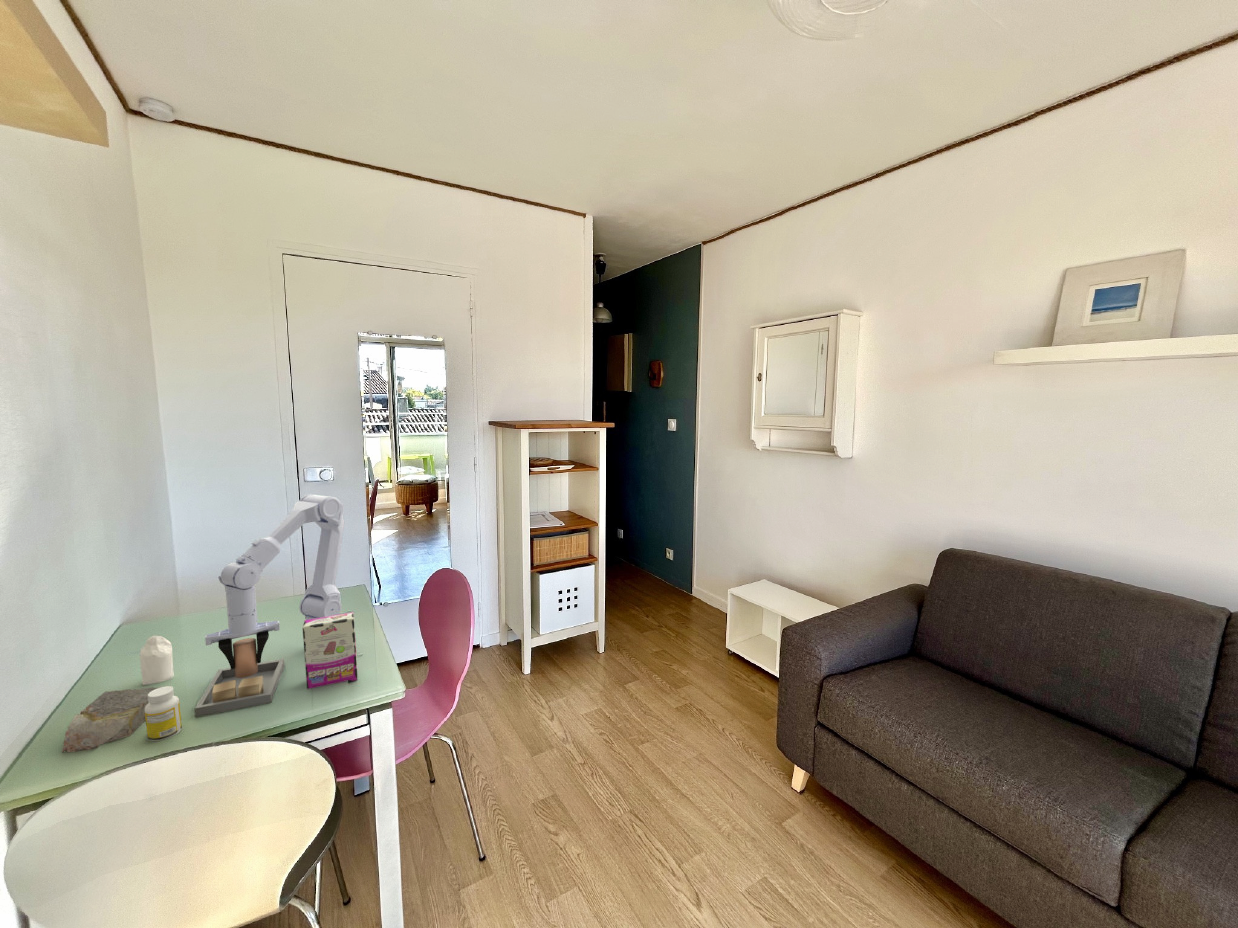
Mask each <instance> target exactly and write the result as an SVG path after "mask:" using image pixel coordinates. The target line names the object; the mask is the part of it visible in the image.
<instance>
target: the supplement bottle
mask: <svg viewBox="0 0 1238 928" xmlns="http://www.w3.org/2000/svg"><path fill="white" fill-rule="evenodd" d="M160 687H161V688H158V689H155V690H153V691H151V692H150V693H149V694H148V702H149V703H148V704H147V705H146V707H145V718H146V721H145V725H146V733H147V739H148V741H153V742H157V741H162V740H166V739H168V738H171V737H173V736H176V735H177V734H178V733H180V731H181V730H182V729H183V722H182V714H181V705H180V699H179V697H178V696H177V695H174V694H175V691H174V687H173V686H172V685H171V686H170V685H169V686H168V685H167V686H160Z"/></svg>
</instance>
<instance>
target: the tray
mask: <svg viewBox="0 0 1238 928" xmlns="http://www.w3.org/2000/svg"><path fill="white" fill-rule="evenodd" d="M285 666H286V665H285V658H283V659H275V660H270V661H268V660H267V661H264V662H262V661H261V663H258V672H257V673H256V674H254V675H252V676H249V677H245V678H236V677H235V669H232V670H231V667H226V668H221V669H218V670H217V671H216V673H215V674H214V676H213V678H212V680H211V681H210V682H209V684H208V686H207V687H206V689H205V690H204V692H203V694H202V695H201V698H200V699H199V701H198V702H197V704H196V706H195V707H194V718H198V717H204V716H205V717H206V716H209V715H214V714H219V713H224V712H230V711H235V710H241V709H245V708H251V707H256V706H261V705H262V706H263V705H266V704H271V703H272V702H273V699H274V696H275V693H276V690H277V689H278V685H279V683H280V680H281V678H282V675H283V672H284V669H285ZM259 676H263V688H264V692H263V694H259V695H253V696H248V697H242V698H239V696H238V687H239V685H240V683H241V681H242V679H247V678H253V677H259ZM233 680H235V681H236V693H237V698H236V699H232V700H226V701H221V702H216V703H213V695H212V692H213V687H214V685H216V684H220V683H224V682H229V681H233Z"/></svg>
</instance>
